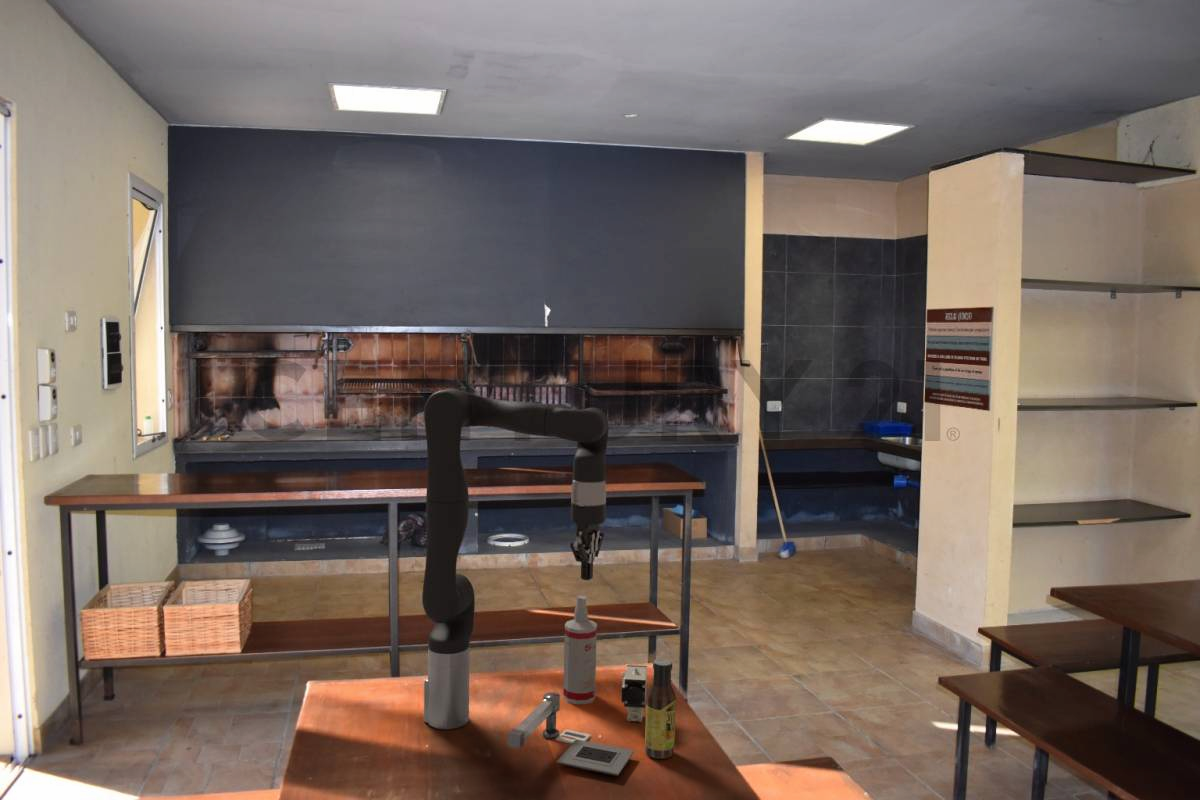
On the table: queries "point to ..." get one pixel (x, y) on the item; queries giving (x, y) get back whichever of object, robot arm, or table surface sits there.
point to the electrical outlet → (595, 757)
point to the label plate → (572, 736)
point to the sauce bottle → (660, 712)
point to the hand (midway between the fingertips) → (586, 579)
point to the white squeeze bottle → (580, 656)
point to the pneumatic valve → (634, 691)
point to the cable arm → (534, 720)
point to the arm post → (551, 727)
